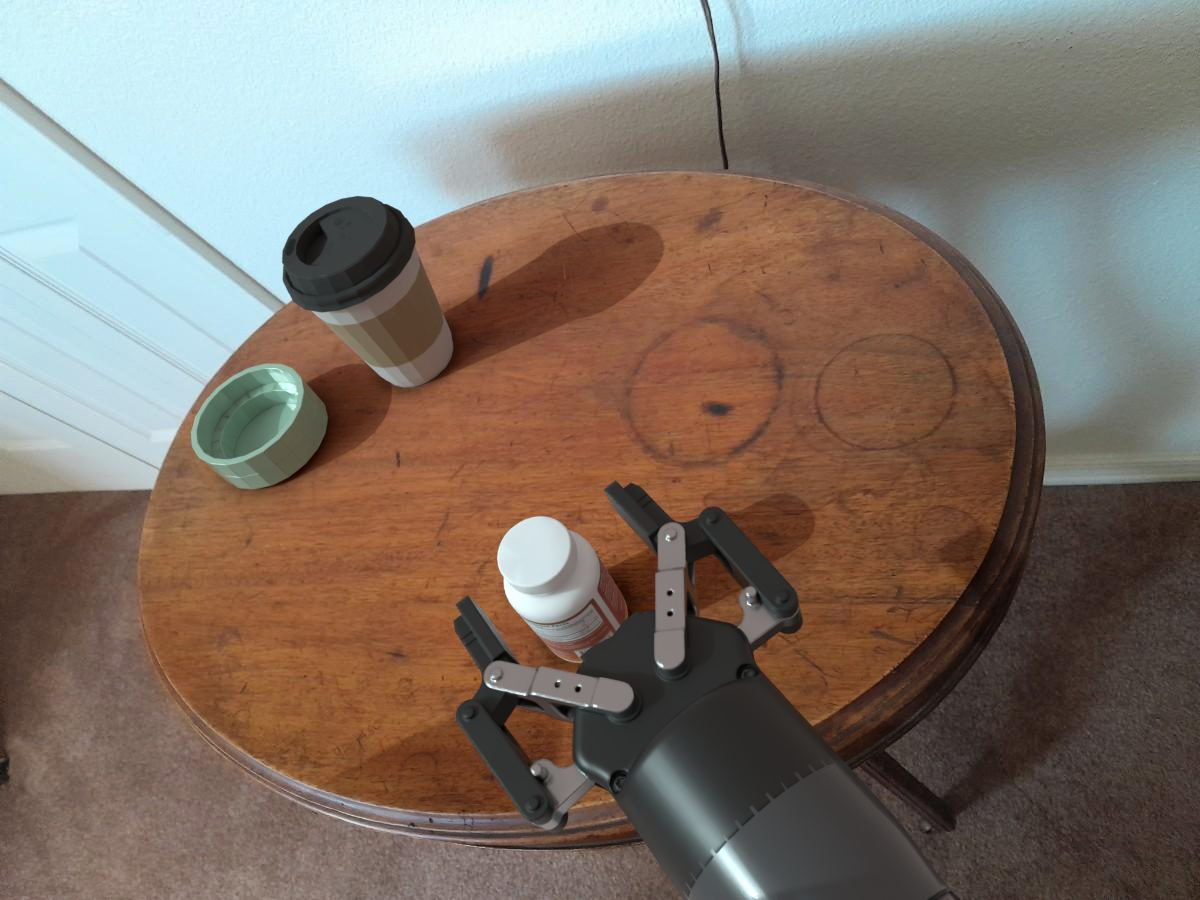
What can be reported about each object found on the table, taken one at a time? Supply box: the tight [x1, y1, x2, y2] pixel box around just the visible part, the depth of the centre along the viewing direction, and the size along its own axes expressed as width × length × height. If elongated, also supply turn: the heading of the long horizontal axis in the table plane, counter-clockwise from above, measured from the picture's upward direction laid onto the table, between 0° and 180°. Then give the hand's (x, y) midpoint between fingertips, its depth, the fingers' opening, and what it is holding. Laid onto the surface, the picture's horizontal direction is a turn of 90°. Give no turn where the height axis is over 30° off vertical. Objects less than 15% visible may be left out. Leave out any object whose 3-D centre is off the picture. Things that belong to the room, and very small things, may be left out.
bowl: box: [190, 363, 329, 490], centre depth 76 cm, size 11×11×4 cm
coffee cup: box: [281, 195, 454, 388], centre depth 73 cm, size 11×11×15 cm
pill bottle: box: [496, 515, 629, 664], centre depth 55 cm, size 6×6×11 cm
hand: (541, 549), depth 40 cm, fingers open, 8 cm apart
